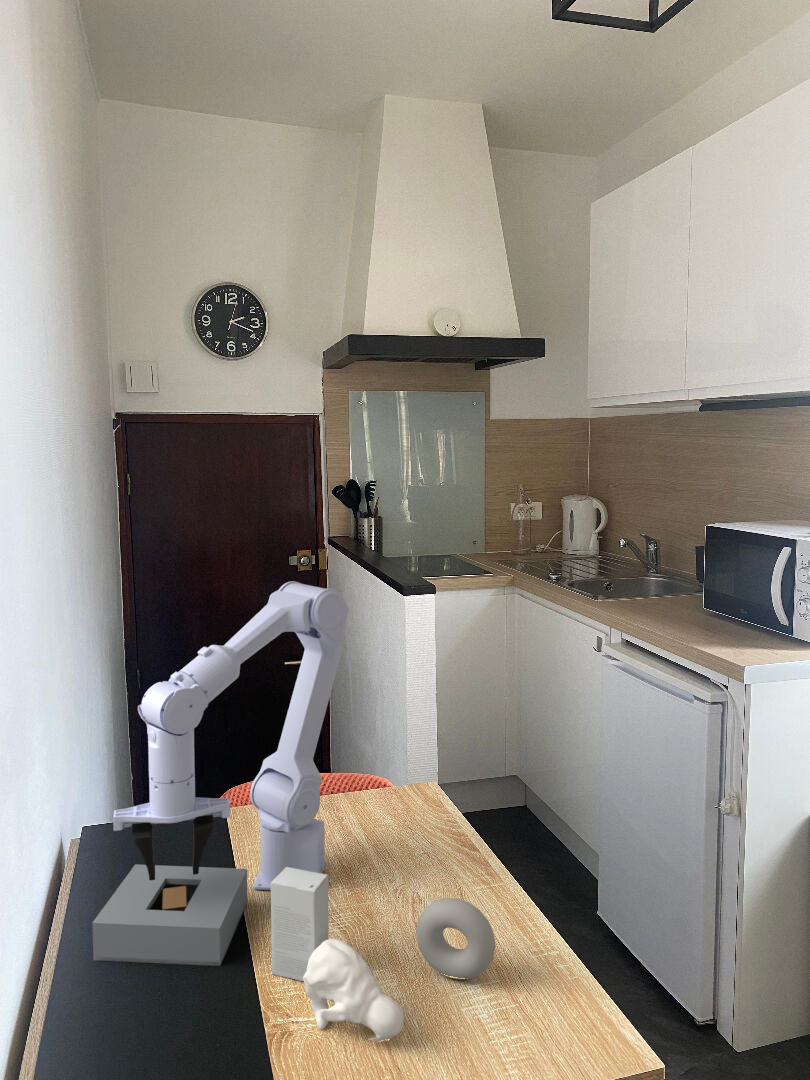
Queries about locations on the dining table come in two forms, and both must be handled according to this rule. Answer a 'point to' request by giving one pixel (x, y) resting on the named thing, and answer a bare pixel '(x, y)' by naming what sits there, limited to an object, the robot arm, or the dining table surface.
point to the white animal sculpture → (349, 991)
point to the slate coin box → (171, 917)
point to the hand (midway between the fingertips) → (174, 873)
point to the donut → (469, 924)
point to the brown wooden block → (174, 899)
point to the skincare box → (297, 920)
